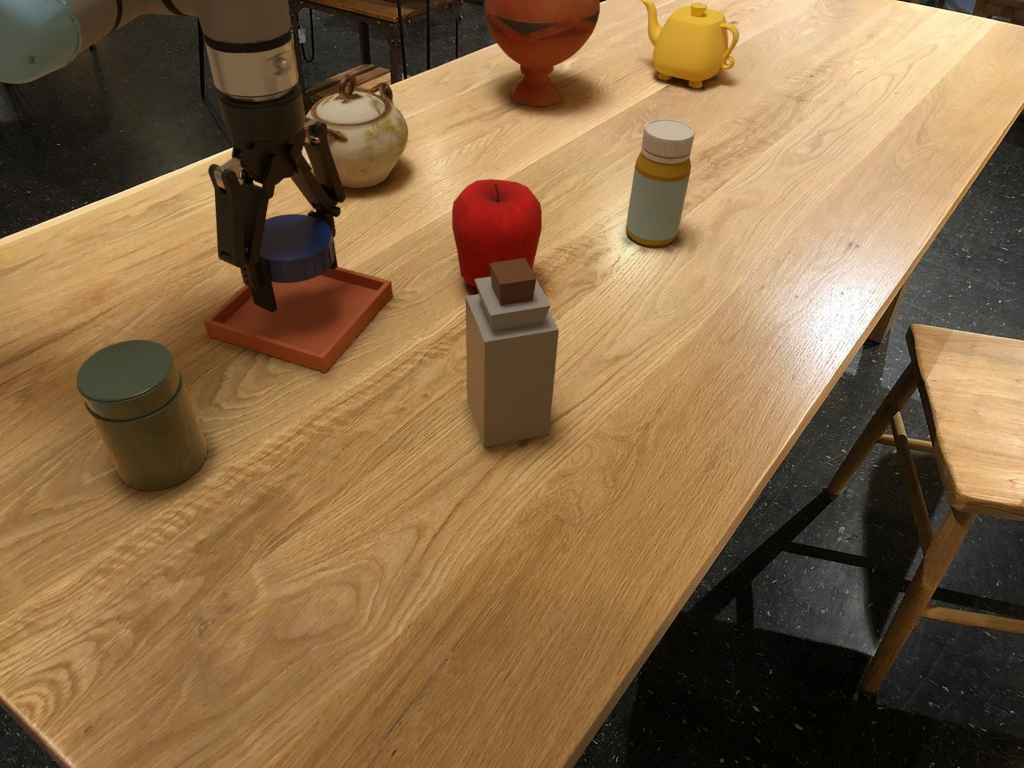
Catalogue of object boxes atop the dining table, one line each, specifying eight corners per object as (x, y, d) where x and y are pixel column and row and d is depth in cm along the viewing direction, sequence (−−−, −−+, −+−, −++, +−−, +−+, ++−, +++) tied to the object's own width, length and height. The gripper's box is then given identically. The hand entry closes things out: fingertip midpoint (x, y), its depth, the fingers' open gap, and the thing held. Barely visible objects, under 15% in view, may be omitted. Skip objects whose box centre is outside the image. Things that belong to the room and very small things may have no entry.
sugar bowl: (365, 218, 105) (353, 112, 95) (277, 192, 109) (256, 88, 99) (436, 158, 118) (432, 60, 108) (355, 137, 122) (343, 40, 112)
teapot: (716, 98, 138) (732, 24, 129) (616, 73, 145) (625, 1, 137) (741, 74, 147) (758, 3, 138) (646, 52, 154) (656, -17, 145)
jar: (99, 475, 71) (51, 384, 63) (158, 418, 76) (121, 328, 68) (169, 501, 69) (129, 412, 61) (224, 441, 74) (194, 352, 66)
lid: (350, 264, 83) (347, 241, 81) (272, 293, 79) (266, 270, 77) (311, 227, 88) (307, 205, 86) (235, 253, 84) (229, 230, 82)
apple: (472, 316, 90) (472, 215, 80) (441, 270, 96) (437, 171, 87) (552, 295, 93) (560, 196, 84) (516, 252, 100) (520, 155, 91)
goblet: (565, 129, 127) (579, -37, 110) (463, 105, 133) (461, -56, 116) (605, 89, 140) (623, -65, 123) (510, 68, 145) (515, -82, 128)
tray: (207, 336, 86) (203, 321, 84) (285, 265, 96) (282, 251, 95) (325, 372, 82) (322, 358, 80) (392, 295, 92) (391, 281, 91)
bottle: (662, 217, 107) (681, 114, 97) (685, 244, 102) (708, 138, 92) (617, 225, 106) (631, 120, 95) (638, 252, 101) (656, 145, 90)
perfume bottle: (549, 434, 76) (562, 287, 64) (483, 447, 75) (484, 299, 62) (528, 389, 81) (538, 244, 69) (467, 400, 79) (465, 254, 67)
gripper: (194, 140, 62) (250, 349, 78) (366, 59, 76) (384, 251, 92) (132, 117, 65) (198, 323, 81) (309, 43, 79) (336, 231, 94)
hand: (297, 284), depth 86 cm, fingers closed on lid, 9 cm apart
